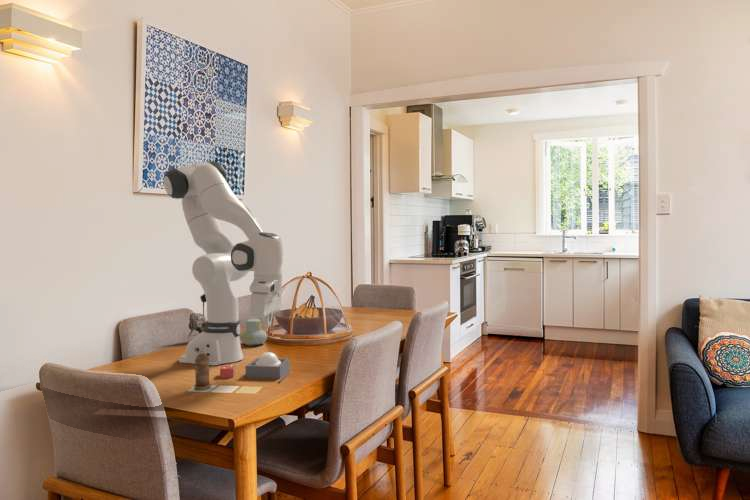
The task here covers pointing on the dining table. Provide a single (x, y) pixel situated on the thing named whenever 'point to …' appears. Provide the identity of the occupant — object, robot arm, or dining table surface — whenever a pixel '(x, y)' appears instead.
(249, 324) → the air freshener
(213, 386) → the game board
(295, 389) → the dining table surface
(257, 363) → the dome
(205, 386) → the walnut pawn
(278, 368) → the base
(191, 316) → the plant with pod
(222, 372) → the red die
